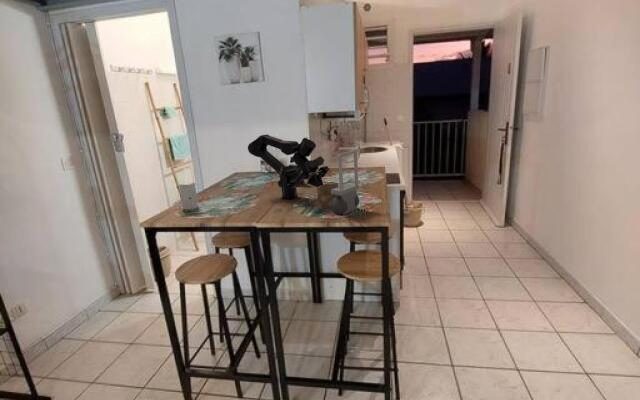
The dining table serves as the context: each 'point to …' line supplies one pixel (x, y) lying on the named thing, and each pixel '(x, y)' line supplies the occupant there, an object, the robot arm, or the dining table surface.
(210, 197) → the dining table surface
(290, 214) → the dining table surface
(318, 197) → the brown stepped block
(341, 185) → the trolley
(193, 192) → the skincare box
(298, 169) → the door stopper
